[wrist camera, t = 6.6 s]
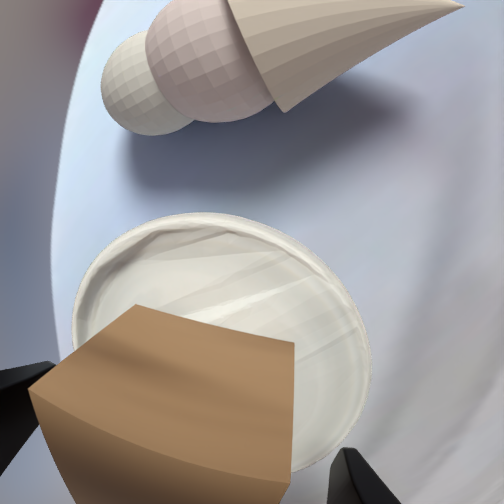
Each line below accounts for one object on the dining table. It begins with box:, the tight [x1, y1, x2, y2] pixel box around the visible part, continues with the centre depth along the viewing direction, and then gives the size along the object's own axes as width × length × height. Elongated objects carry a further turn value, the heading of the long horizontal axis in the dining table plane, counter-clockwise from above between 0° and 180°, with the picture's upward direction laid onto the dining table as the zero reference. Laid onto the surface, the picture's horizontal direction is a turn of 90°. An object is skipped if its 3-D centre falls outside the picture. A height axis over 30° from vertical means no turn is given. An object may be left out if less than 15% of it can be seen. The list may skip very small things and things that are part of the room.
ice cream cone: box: [101, 0, 465, 136], centre depth 8 cm, size 6×6×15 cm
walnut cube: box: [28, 304, 295, 504], centre depth 7 cm, size 5×5×5 cm
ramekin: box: [72, 212, 372, 473], centre depth 12 cm, size 11×11×5 cm
